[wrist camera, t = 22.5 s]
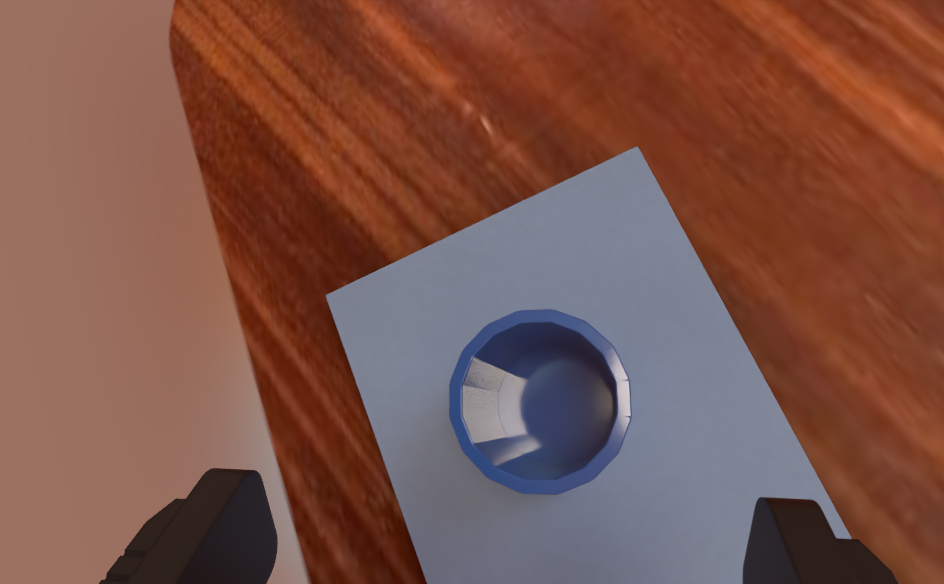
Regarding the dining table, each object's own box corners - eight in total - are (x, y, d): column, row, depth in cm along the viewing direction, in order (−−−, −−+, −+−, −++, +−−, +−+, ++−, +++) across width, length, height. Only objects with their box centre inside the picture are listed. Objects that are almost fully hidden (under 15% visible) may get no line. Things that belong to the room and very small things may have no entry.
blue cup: (521, 495, 29) (489, 523, 21) (470, 369, 30) (423, 352, 23) (649, 442, 28) (664, 451, 20) (589, 315, 30) (582, 280, 22)
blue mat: (468, 681, 29) (463, 690, 28) (332, 298, 34) (325, 294, 33) (844, 537, 26) (853, 542, 25) (636, 153, 32) (637, 145, 31)
